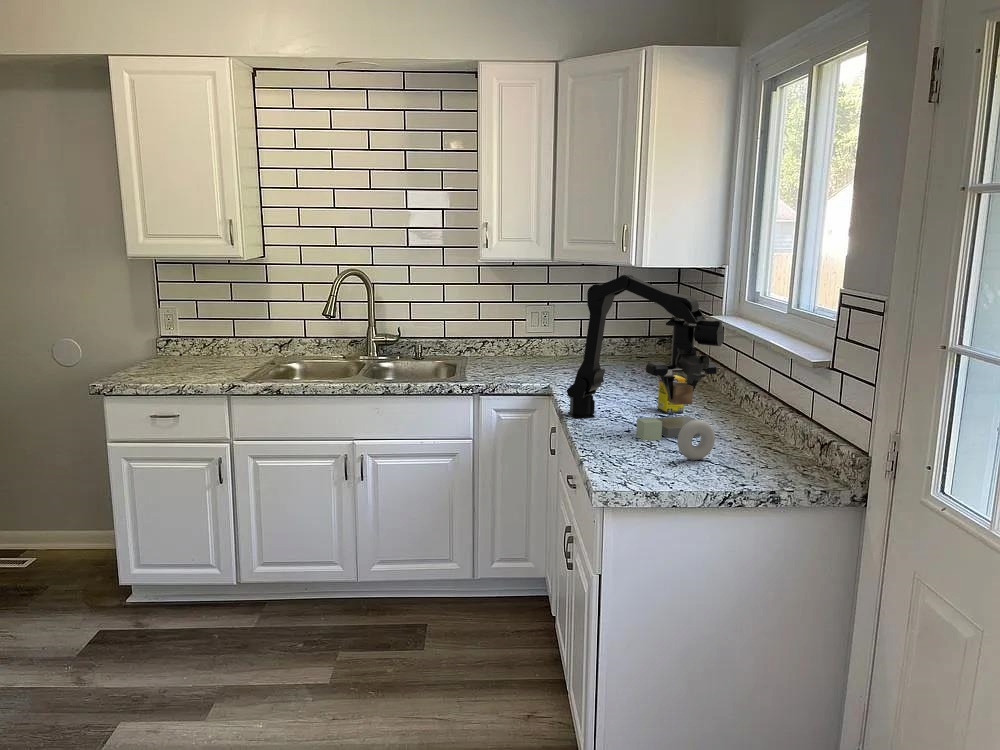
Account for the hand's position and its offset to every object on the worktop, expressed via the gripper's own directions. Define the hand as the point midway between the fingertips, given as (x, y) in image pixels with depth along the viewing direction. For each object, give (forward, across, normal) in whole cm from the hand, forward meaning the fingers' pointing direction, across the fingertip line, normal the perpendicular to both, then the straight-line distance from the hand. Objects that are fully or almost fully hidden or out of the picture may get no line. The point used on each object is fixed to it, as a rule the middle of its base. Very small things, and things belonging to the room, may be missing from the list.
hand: (679, 398), depth 210 cm
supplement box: (+9, +8, +22) cm, 25 cm away
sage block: (+9, -11, -5) cm, 15 cm away
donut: (+9, -8, -26) cm, 29 cm away
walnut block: (+1, 0, 0) cm, 1 cm away
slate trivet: (+9, 0, 0) cm, 9 cm away
